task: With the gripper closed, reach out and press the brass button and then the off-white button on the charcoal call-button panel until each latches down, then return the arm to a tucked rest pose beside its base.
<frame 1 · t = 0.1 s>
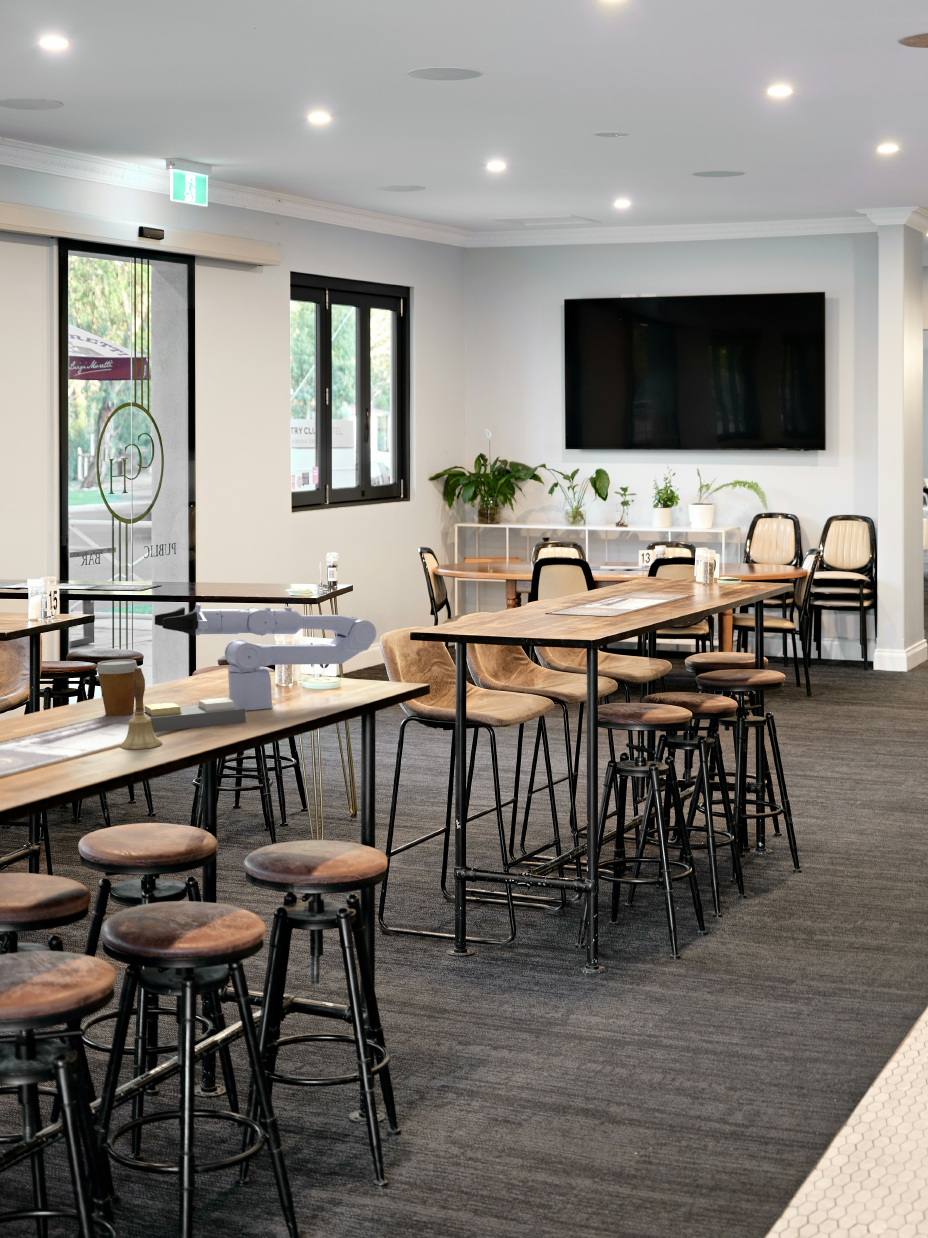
hand: (158, 621, 331), 22 cm above the table, tool horizontal, fingers open, 7 cm apart
hand bell: (141, 746, 300), on the table
brass button: (162, 712, 321), point 3 cm above the table, slide at 0.0 cm
white button: (216, 707, 326), point 3 cm above the table, slide at 0.0 cm
disposable coffee cup: (119, 714, 339), on the table
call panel: (190, 723, 324), on the table
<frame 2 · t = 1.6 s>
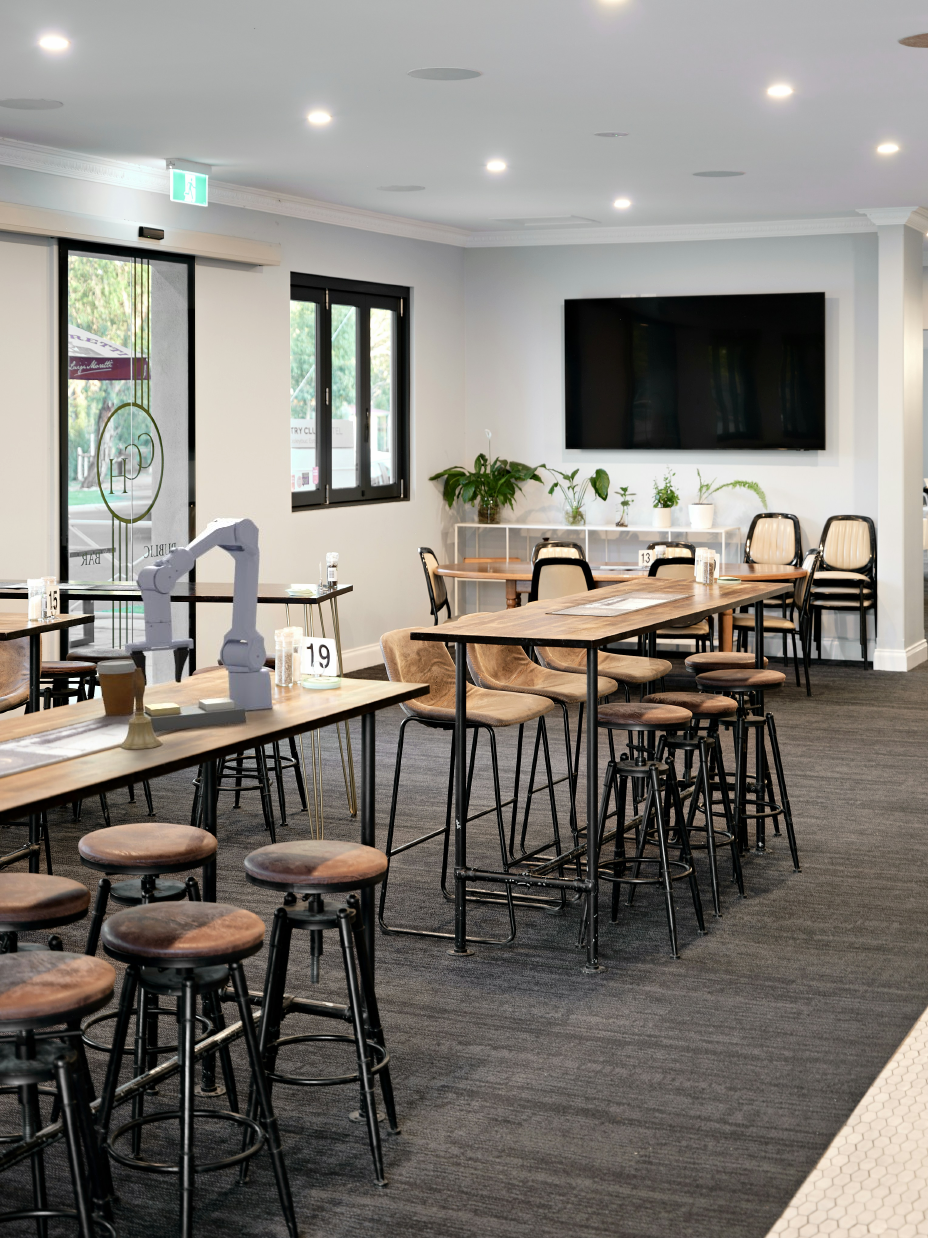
hand: (161, 683, 320), 9 cm above the table, tool pointing down, fingers open, 7 cm apart
nothing on the table moved.
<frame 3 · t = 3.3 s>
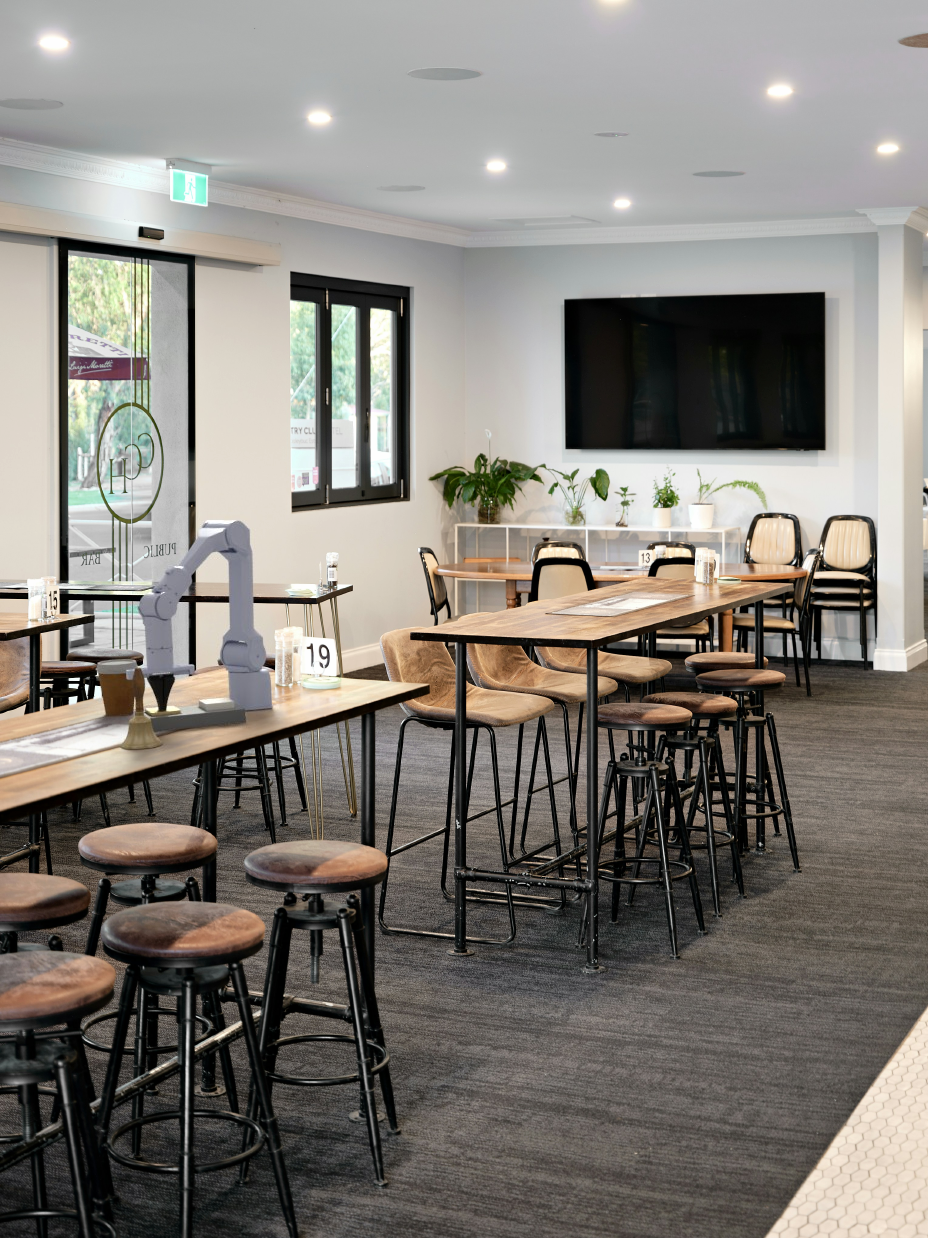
hand: (162, 709, 321), 4 cm above the table, tool pointing down, fingers closed, pressing on brass button
brass button: (162, 716, 321), point 2 cm above the table, slide at 0.7 cm, touching gripper
everything else where it was.
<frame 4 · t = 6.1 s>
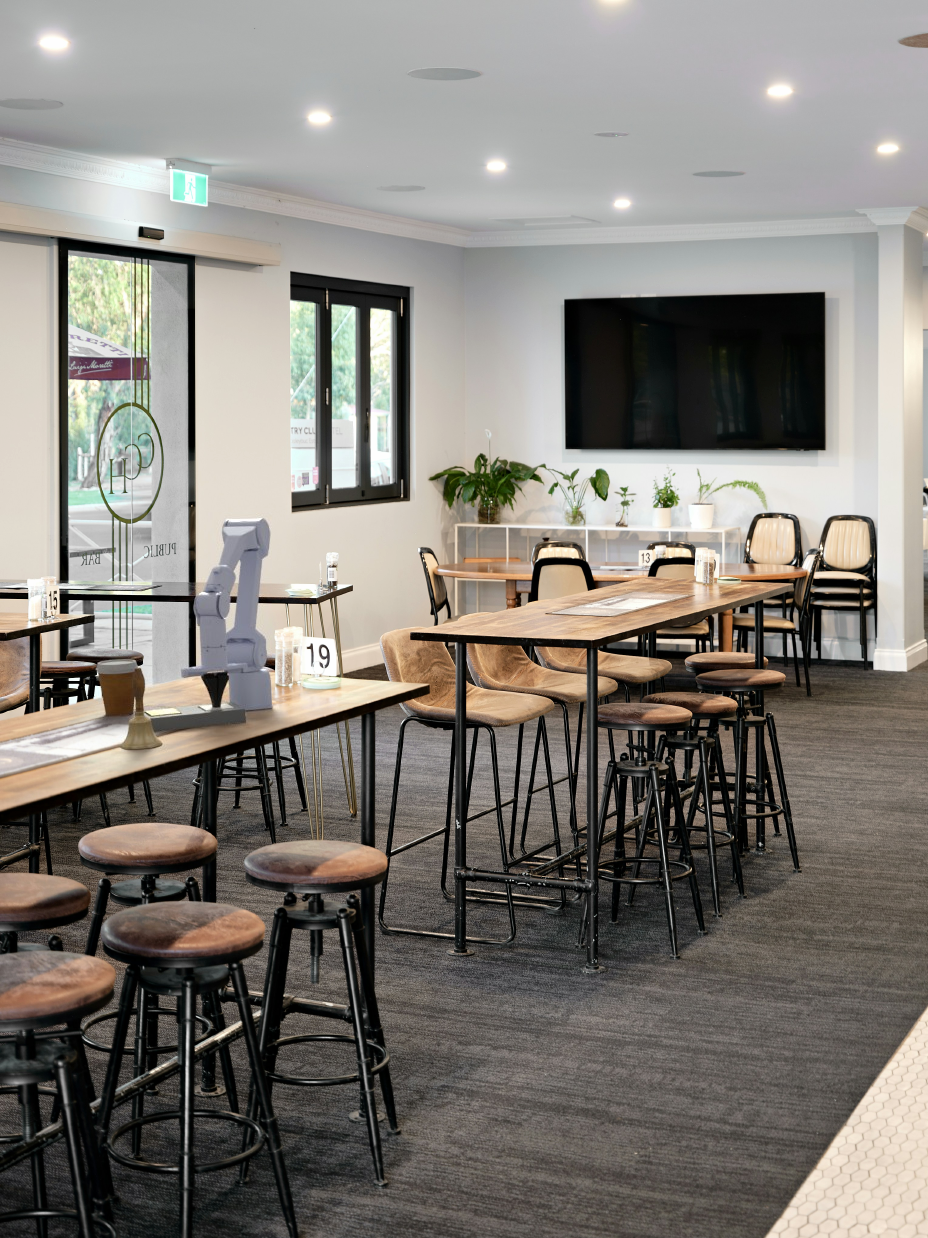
hand: (216, 707, 326), 3 cm above the table, tool pointing down, fingers closed, pressing on white button
brass button: (163, 718, 321), point 2 cm above the table, slide at 1.3 cm
white button: (216, 713, 326), point 2 cm above the table, slide at 1.4 cm, touching gripper
everything else where it was.
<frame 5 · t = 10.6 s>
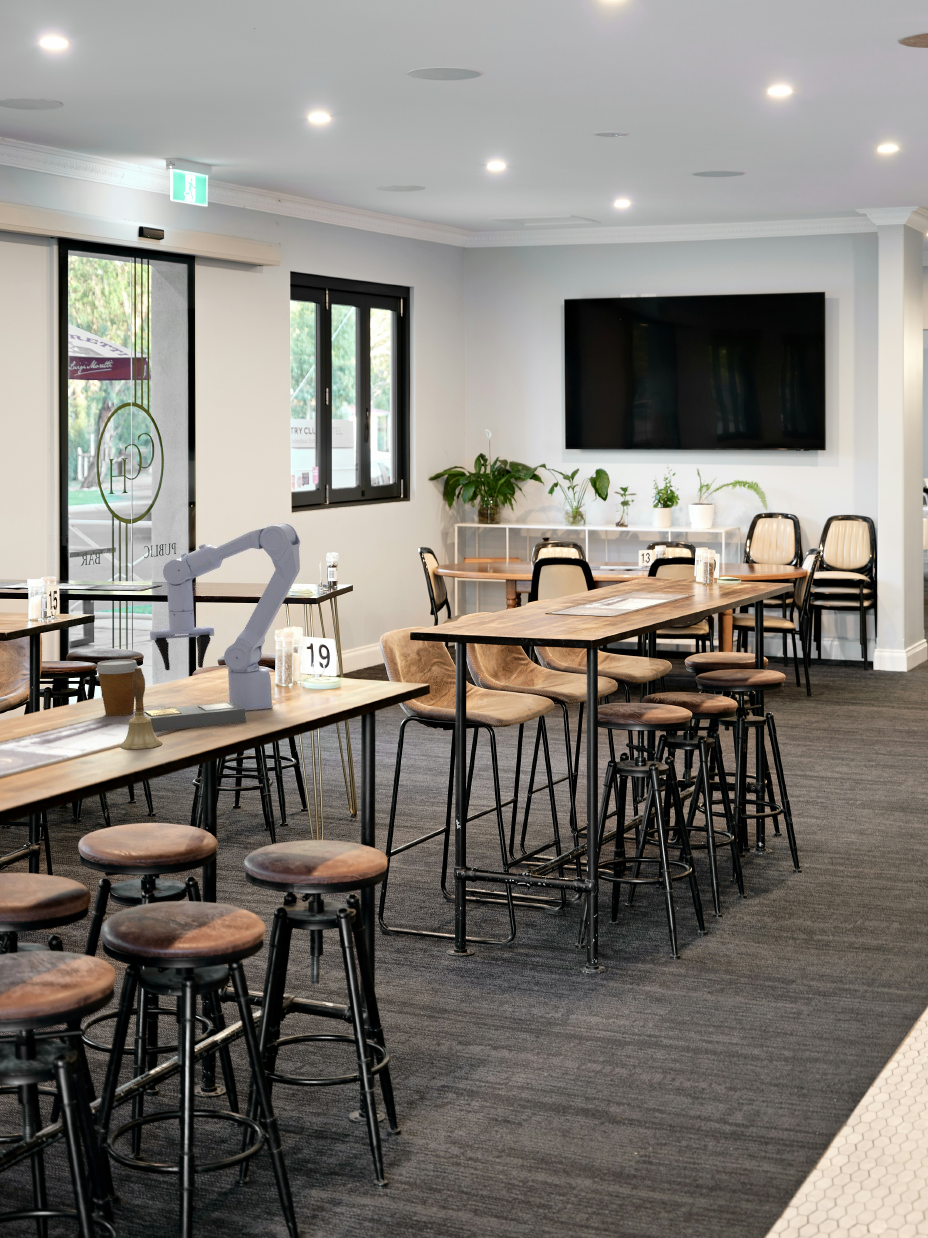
hand: (184, 668, 342), 9 cm above the table, tool pointing down, fingers open, 7 cm apart
white button: (216, 713, 326), point 2 cm above the table, slide at 1.3 cm
everything else where it was.
at the end: brass button slide at 1.3 cm; white button slide at 1.3 cm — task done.
